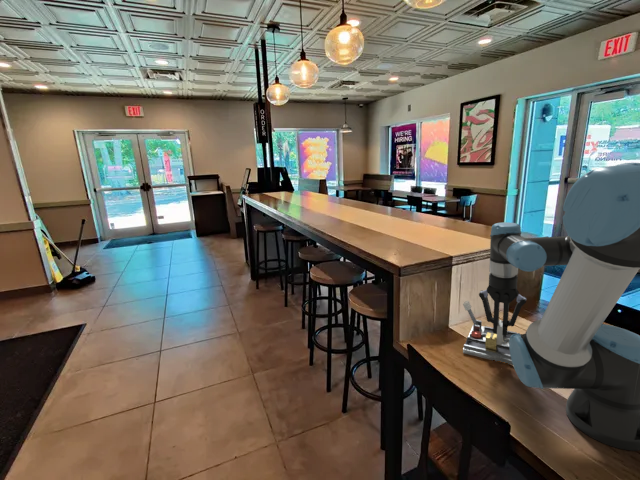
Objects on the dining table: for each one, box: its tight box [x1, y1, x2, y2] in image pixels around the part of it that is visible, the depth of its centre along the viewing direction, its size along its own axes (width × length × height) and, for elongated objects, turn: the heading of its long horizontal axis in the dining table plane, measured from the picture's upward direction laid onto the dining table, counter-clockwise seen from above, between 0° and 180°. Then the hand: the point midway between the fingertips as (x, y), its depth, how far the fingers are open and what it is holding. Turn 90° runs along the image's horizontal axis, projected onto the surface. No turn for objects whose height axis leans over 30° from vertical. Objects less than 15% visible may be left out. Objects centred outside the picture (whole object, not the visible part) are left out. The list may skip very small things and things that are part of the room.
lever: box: [462, 300, 479, 325], centre depth 114 cm, size 2×2×10 cm
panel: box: [462, 319, 518, 366], centre depth 107 cm, size 18×15×4 cm
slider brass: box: [485, 332, 497, 351], centre depth 102 cm, size 4×3×5 cm
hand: (499, 342), depth 101 cm, fingers closed
